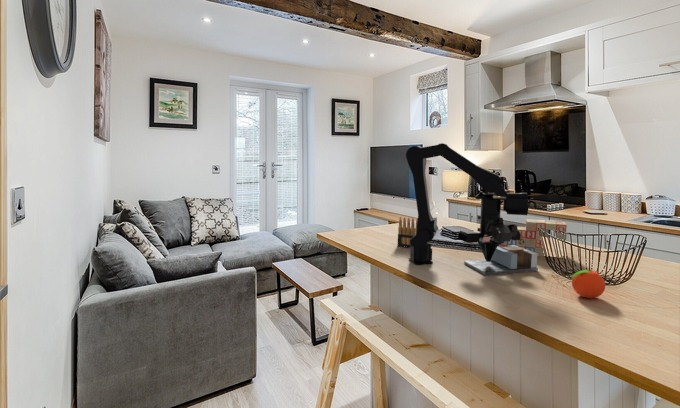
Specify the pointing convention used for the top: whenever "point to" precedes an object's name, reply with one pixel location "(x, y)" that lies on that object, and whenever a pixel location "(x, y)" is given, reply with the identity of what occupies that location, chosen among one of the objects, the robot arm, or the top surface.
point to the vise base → (497, 268)
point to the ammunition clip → (406, 232)
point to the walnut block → (517, 251)
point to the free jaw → (505, 258)
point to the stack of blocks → (535, 234)
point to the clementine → (588, 283)
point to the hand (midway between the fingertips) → (487, 261)
